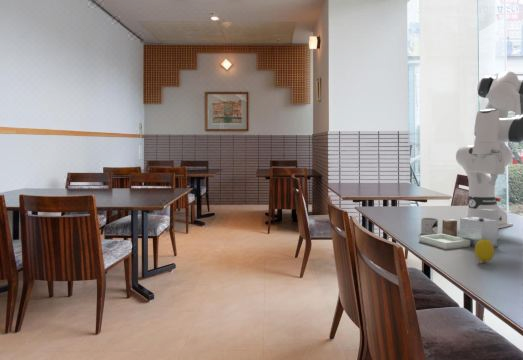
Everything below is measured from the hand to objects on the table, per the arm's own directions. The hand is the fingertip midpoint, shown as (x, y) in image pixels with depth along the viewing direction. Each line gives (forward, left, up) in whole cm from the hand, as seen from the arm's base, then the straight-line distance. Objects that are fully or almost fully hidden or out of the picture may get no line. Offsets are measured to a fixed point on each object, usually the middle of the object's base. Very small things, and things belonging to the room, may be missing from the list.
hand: (485, 184), depth 168 cm
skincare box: (-6, -3, -23) cm, 24 cm away
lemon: (+28, +24, -23) cm, 43 cm away
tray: (+19, -2, -23) cm, 30 cm away
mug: (+8, -21, -23) cm, 32 cm away
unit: (+8, +4, -23) cm, 24 cm away
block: (+6, -12, -23) cm, 27 cm away
